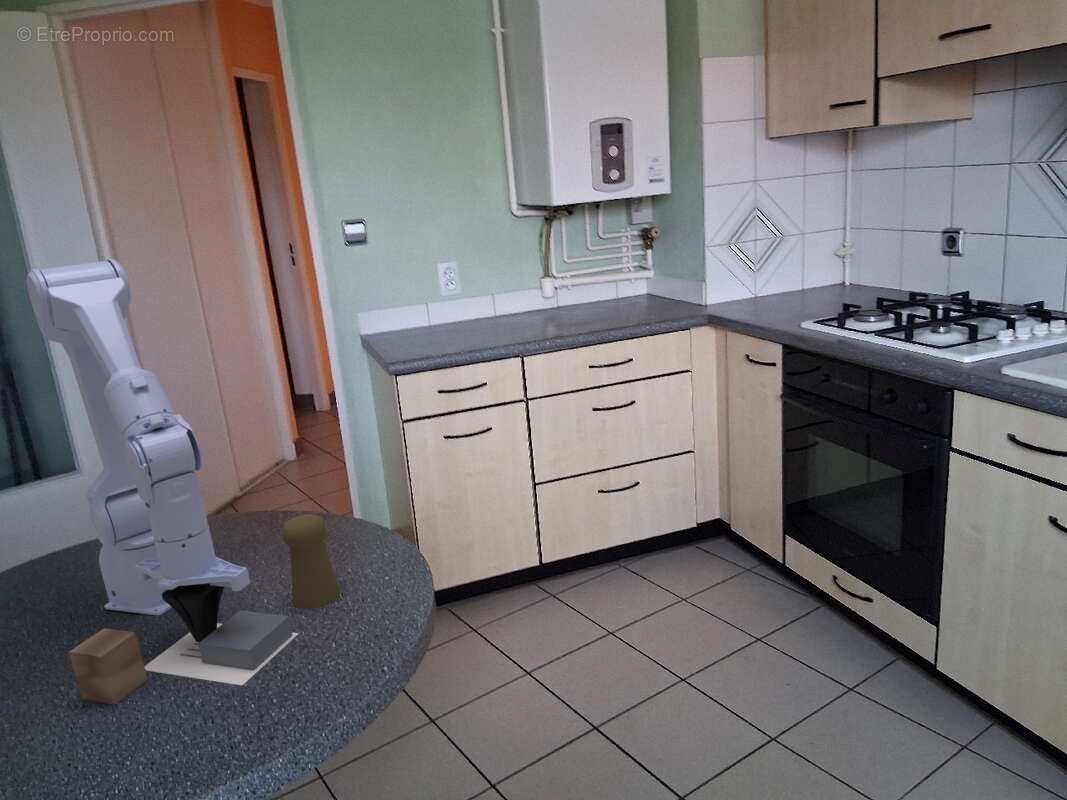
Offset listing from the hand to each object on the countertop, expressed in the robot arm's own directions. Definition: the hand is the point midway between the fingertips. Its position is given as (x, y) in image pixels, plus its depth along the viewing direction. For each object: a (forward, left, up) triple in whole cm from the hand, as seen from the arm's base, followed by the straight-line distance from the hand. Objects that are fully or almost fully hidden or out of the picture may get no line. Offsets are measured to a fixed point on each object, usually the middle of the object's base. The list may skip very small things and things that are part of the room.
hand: (206, 638), depth 93 cm
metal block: (+6, 0, -1) cm, 6 cm away
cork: (+7, +12, -1) cm, 14 cm away
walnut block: (-4, -9, -1) cm, 10 cm away
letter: (+3, -1, -1) cm, 3 cm away
